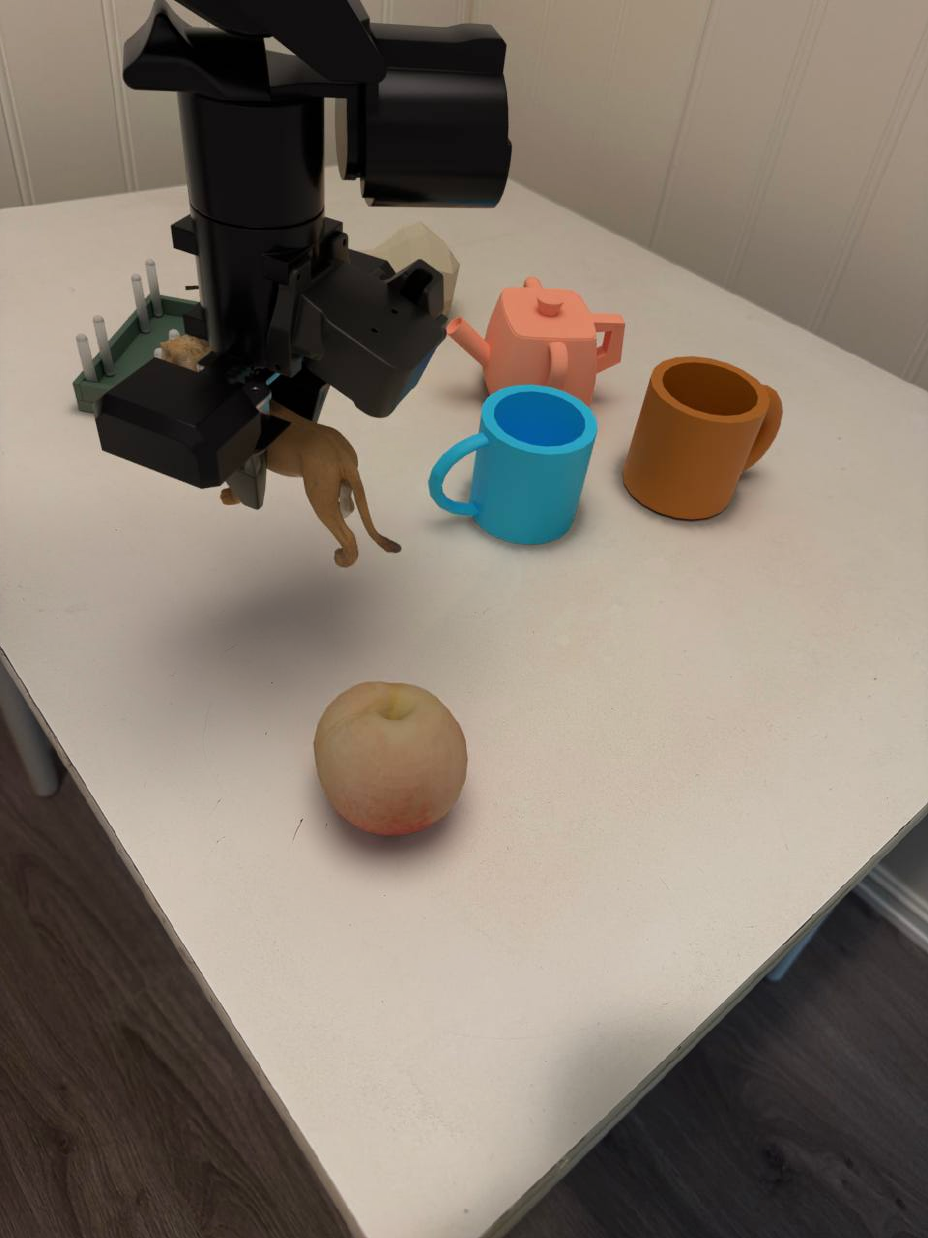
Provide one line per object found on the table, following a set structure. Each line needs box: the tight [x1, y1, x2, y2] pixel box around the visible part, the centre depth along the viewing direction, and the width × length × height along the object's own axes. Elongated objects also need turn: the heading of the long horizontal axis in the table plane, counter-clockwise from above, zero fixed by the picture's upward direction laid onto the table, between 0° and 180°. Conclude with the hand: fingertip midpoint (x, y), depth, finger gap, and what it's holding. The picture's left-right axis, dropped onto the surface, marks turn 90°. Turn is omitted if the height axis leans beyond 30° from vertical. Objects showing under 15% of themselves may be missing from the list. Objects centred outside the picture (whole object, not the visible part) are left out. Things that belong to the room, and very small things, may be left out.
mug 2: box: [621, 355, 784, 520], centre depth 68 cm, size 9×12×9 cm
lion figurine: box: [160, 335, 402, 569], centre depth 47 cm, size 15×5×9 cm, turn 67°
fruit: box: [312, 680, 469, 836], centre depth 46 cm, size 8×8×8 cm
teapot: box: [445, 276, 626, 408], centre depth 73 cm, size 12×12×10 cm
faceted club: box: [184, 220, 461, 317], centre depth 80 cm, size 9×8×25 cm
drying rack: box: [72, 258, 199, 414], centre depth 72 cm, size 8×15×6 cm, turn 171°
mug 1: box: [427, 385, 598, 546], centre depth 63 cm, size 12×8×8 cm
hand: (273, 483), depth 49 cm, fingers closed on lion figurine, 4 cm apart
